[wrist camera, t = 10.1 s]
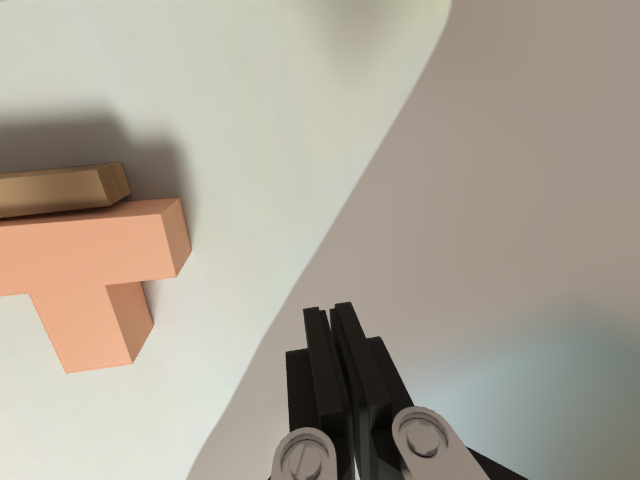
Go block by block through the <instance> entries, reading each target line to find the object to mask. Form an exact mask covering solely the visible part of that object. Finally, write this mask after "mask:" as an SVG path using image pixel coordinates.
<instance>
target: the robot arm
mask: <svg viewBox="0 0 640 480" xmlns="http://www.w3.org/2000/svg"><path fill="white" fill-rule="evenodd" d="M303 314H304V321H305V330H306V338H307V347H308V348H306V349H300V350H294V351H288V352H286V370H287V389H288V409H289V425H290V426H289V428H290V433H289V434H288V435H287V436H286V437H284V438H283V439H282V440H281V442H280V444H279V445H278V447H277V449H276V452H275V455H274V459H273V465H272V473H271V476H270V477H269V479H268V480H355V465H354V456H355V460H356V464H357V469H358V473H359V477H360V480H528V479H526V478H524V477H523V476H521V475H519V474H517V473H515V472H513V471H511V470H509V469H508V468H506V467H504V466H502V465H500V464H498V463H496V462H494V461H493V460H490V459H489V458H487V457H485V456H483V455H481V454H479V453H478V452H476V451H474V450H472V449H470V448H468V447H466V446H465V445H464V444H463V442H462V441H461V440H460V438H459V437H458V435H457V434H456V433H455V431H454V430H453V429H452V427H451V426H450V425H449V424H448V422H447V421H446V420H445V419H444V418H443V417H442V416H441V415H439V414H437V413H436V412H434V411H433V410H430V409H428V408H425V407H418V406H414V404H413V402H412V400H411V398H410V396H409V394H408V392H407V390H406V388H405V386H404V384H403V382H402V379H401V377H400V376H399V373H398V371H397V369H396V367H395V365H394V363H393V361H392V359H391V357H390V355H389V353H388V351H387V349H386V347H385V345H384V342H383V341H382V339H381V338H380V337H379V336H378V337H373V338H366V337H365V335H364V332H363V330H362V328H361V326H360V323H359V320H358V318H357V316H356V313H355V311H354V309H353V306H352V304H351V302H345V303H339V304H335V308H334V309H330V323H331V330H330V326H329V322H328V319H327V315H326V311H325V310H320V311H319V307H312V308H306V309H303Z"/></svg>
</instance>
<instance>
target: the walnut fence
mask: <svg viewBox="0 0 640 480" xmlns="http://www.w3.org/2000/svg"><path fill="white" fill-rule="evenodd" d="M129 194H131V190H130V187H129V184H128V181H127V178H126V175H125V172H124V169H123V166H122V163H121V162H116V163H106V164H96V165H85V166H75V167H65V168H54V169H44V170H34V171H23V172H13V173H3V174H0V218H4V217H13V216H22V215H31V214H39V213H48V212H57V211H66V210H75V209H84V208H93V207H101V206H110V205H111V204H113V203H115V202H117V201H119V200H120V199H122V198H124V197H126V196H127V195H129Z"/></svg>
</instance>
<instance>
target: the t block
mask: <svg viewBox="0 0 640 480" xmlns="http://www.w3.org/2000/svg"><path fill="white" fill-rule="evenodd" d="M191 252H192V250H191V246H190V241H189V237H188V232H187V228H186V223H185V219H184V215H183V210H182V206H181V201H180V198H167V199H153V200H139V201H126V202H115V203H113V204H111V205H110V206H101V207H93V208H84V209H75V210H66V211H57V212H48V213H39V214H31V215H22V216H13V217H4V218H0V296H9V295H18V294H27V293H28V294H29V296H30V298H31V300H32V303H33V305H34V307H35V309H36V311H37V313H38V315H39V317H40V320H41V322H42V324H43V326H44V328H45V330H46V332H47V334H48V337H49V339H50V341H51V343H52V345H53V347H54V349H55V352H56V354H57V356H58V358H59V360H60V362H61V364H62V366H63V369H64V371H65V373H66V374H67V373H74V372H81V371H88V370H95V369H102V368H109V367H116V366H123V365H130V364H133V362H134V361H135V359H136V357H137V355H138V353H139V352H140V350H141V348H142V346H143V344H144V343H145V341H146V339H147V337H148V335H149V334H150V332H151V330H152V328H153V322H152V319H151V316H150V312H149V309H148V306H147V302H146V299H145V296H144V292H143V289H142V286H141V282H140V281H148V280H157V279H166V278H175V277H177V275H178V274H179V272H180V270H181V269H182V267H183V265H184V263H185V262H186V260H187V258H188V257H189V255H190V253H191Z"/></svg>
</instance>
